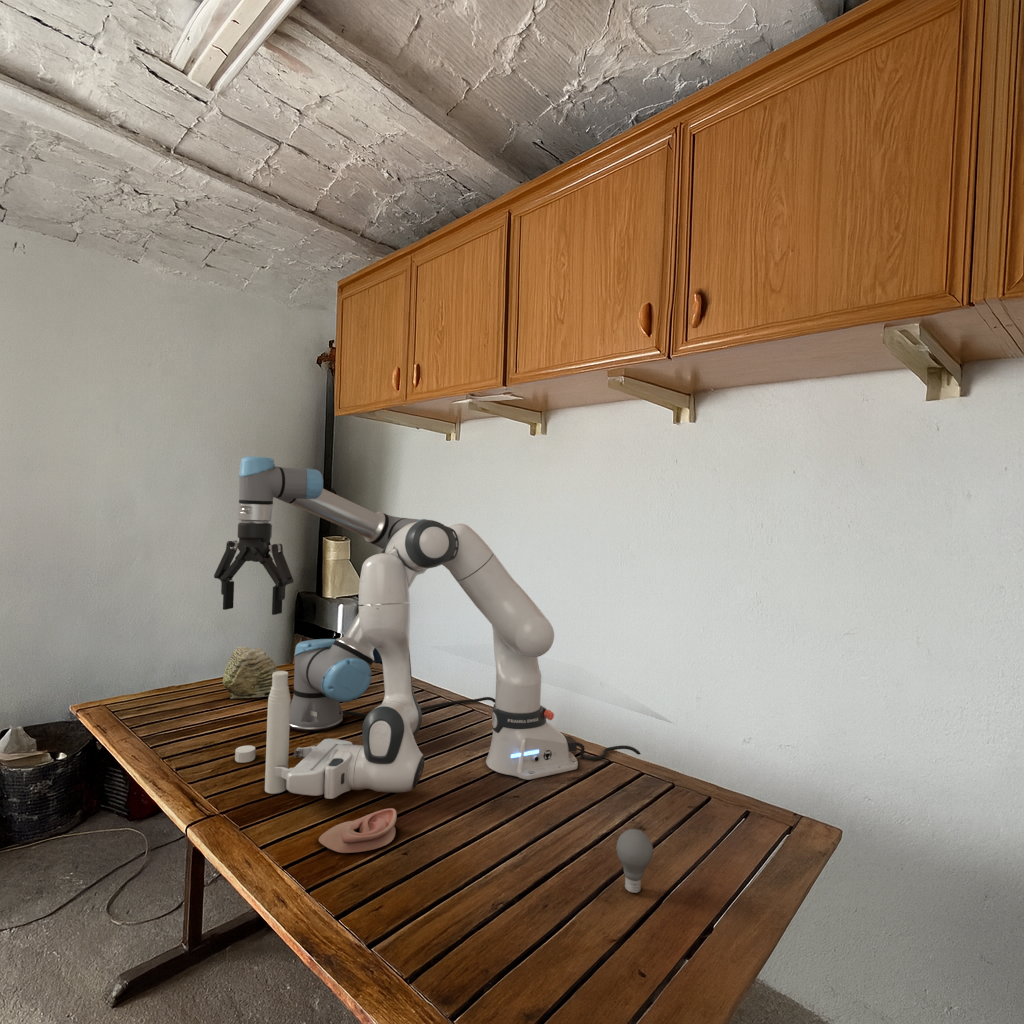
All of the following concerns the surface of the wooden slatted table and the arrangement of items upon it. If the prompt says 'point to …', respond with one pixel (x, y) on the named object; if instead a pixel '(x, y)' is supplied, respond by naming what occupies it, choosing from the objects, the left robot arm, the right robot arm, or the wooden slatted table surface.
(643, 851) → the light bulb
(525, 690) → the right robot arm
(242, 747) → the cap
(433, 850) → the wooden slatted table surface
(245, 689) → the fossil
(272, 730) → the bottle
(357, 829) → the anatomical model
